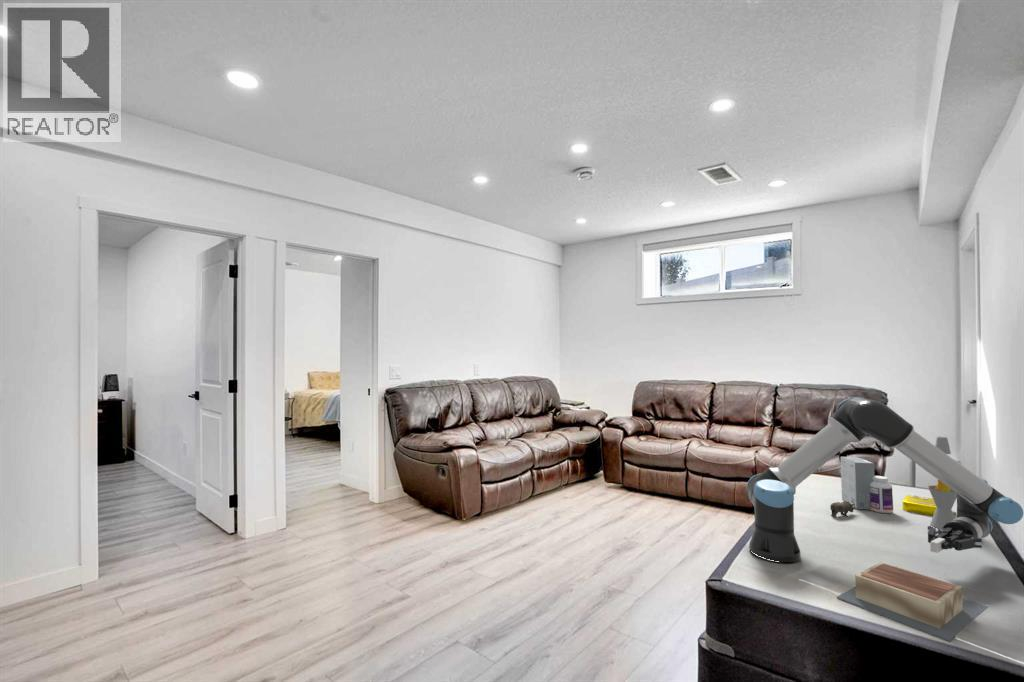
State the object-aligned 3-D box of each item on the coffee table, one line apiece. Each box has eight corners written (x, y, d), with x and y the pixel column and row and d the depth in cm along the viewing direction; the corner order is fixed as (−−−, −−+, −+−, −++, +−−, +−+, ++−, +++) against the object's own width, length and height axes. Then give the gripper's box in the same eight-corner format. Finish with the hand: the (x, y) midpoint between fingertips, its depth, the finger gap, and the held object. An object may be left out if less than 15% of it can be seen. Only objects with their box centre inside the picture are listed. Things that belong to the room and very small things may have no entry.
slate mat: (881, 573, 148) (881, 572, 148) (988, 608, 128) (988, 606, 128) (836, 598, 133) (836, 596, 133) (950, 641, 113) (950, 640, 113)
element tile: (901, 511, 209) (901, 500, 209) (907, 503, 219) (906, 493, 219) (948, 519, 198) (948, 507, 198) (951, 511, 209) (951, 500, 209)
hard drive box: (876, 510, 208) (874, 463, 209) (856, 509, 209) (854, 462, 210) (859, 500, 223) (858, 456, 224) (841, 499, 225) (839, 456, 225)
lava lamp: (958, 533, 181) (955, 439, 182) (927, 527, 188) (924, 436, 189) (962, 528, 187) (959, 437, 188) (931, 522, 194) (929, 434, 195)
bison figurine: (860, 515, 202) (860, 501, 203) (836, 519, 198) (836, 504, 198) (850, 512, 206) (850, 498, 206) (827, 516, 202) (826, 501, 202)
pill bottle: (892, 510, 208) (891, 476, 209) (894, 515, 202) (892, 480, 202) (869, 507, 213) (868, 474, 214) (870, 511, 206) (868, 477, 207)
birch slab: (880, 561, 142) (855, 574, 133) (961, 586, 126) (939, 602, 118) (881, 582, 141) (855, 597, 133) (962, 610, 126) (939, 628, 118)
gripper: (990, 551, 147) (963, 569, 134) (935, 537, 158) (906, 552, 145) (990, 526, 147) (963, 541, 134) (935, 514, 158) (905, 527, 145)
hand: (933, 547), depth 140 cm, fingers closed
